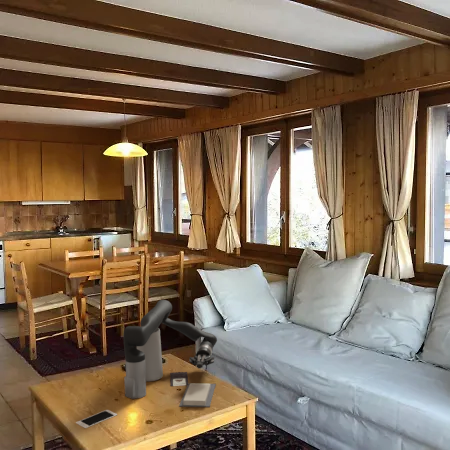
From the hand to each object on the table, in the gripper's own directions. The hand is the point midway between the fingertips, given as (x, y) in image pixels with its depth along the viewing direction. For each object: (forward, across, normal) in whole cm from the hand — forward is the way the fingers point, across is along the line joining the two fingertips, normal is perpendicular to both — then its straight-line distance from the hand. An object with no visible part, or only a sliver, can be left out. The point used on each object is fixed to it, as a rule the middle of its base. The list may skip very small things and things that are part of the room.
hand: (199, 366), depth 239 cm
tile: (-3, 0, -11) cm, 12 cm away
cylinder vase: (-17, +28, -13) cm, 35 cm away
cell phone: (+31, +40, -12) cm, 52 cm away
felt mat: (+4, 0, -13) cm, 13 cm away
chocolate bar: (-15, +13, -14) cm, 24 cm away
